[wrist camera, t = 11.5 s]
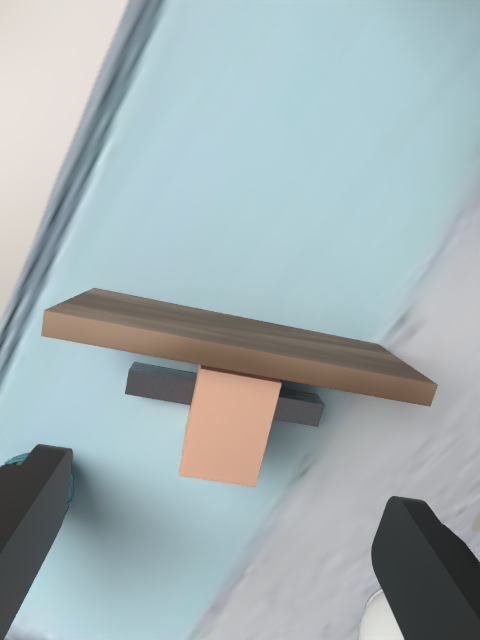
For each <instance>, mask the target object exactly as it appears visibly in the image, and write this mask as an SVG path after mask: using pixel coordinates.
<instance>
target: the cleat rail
mask: <svg viewBox="0 0 480 640" xmlns="http://www.w3.org/2000/svg"><path fill="white" fill-rule="evenodd" d="M196 379H197V373H193V372H187V371H181V370H176V369H170V368H165V367H159V366H154V365H148V364H142V363H137V362H134V363H133V365H132V366H131V368H130V369H129V372H128V379H127V385H126V391H125V394H128V395H134V396H140V397H146V398H152V399H158V400H164V401H170V402H176V403H181V404H187V405H191V403H192V398H193V393H194V388H195V383H196ZM323 406H324V405H323V403H322V401H321V400H320V398H319V397H318V395H316V394H310V393H304V392H299V391H293V390H288V389H282V388H280V392H279V396H278V400H277V404H276V408H275V412H274V416H273V419H276V420H282V421H288V422H294V423H299V424H305V425H311V426H317V427H318V423H319V420H320V416H321V413H322V409H323Z"/></svg>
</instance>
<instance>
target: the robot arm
mask: <svg viewBox="0 0 480 640" xmlns="http://www.w3.org/2000/svg"><path fill="white" fill-rule="evenodd" d="M72 458H73V451H72V449H70V448H63V447H56V446H49V445H42V444H38V445H37V446H35V448H34V449H33V450H32V451H31V452H30V454H29V455H28V456H27V457H26V459H25V460H24V461H23V462H22V464H21V465H14V464H7V463H6V464H5V465H3V466H1V467H0V640H4V638H5V636H6V634H7V632H8V630H9V628H10V626H11V624H12V622H13V620H14V618H15V616H16V614H17V612H18V610H19V609H20V607H21V605H22V603H23V601H24V599H25V597H26V595H27V593H28V591H29V589H30V587H31V585H32V583H33V581H34V579H35V577H36V575H37V573H38V571H39V569H40V568H41V566H42V564H43V562H44V560H45V558H46V556H47V554H48V552H49V550H50V548H51V546H52V544H53V542H54V540H55V538H56V536H57V534H58V532H59V530H60V528H61V525H62V522H63V519H64V516H65V512H66V508H67V502H68V494H69V485H70V476H71V467H72ZM371 556H372V565H373V569H374V572H375V574H376V577H377V579H378V581H379V583H380V586H381V588H382V590H383V592H384V595H385V597H386V599H387V601H388V604H389V606H390V608H391V610H392V613H393V615H394V617H395V619H396V622H397V624H398V626H399V628H400V631H401V633H402V635H403V637H404V640H480V562H479V561H478V559H477V558H476V557H475V556H474V554H473V553H472V552H471V550H470V549H469V548H468V546H467V545H466V544H465V542H463V541H462V540H461V539H460V538H459V537H458V536H457V535H455V534H454V533H453V532H452V531H451V530H450V529H449V528H447V527H446V526H445V525H443V524H442V523H441V522H440V521H439V519H438V518H437V517H436V515H435V514H434V512H433V511H432V510H431V508H430V507H429V506H428V504H427V503H426V502H424V501H423V500H418V499H411V498H404V497H397V496H392V497H391V498H390V499H389V500H388V502H387V504H386V507H385V510H384V513H383V516H382V518H381V521H380V524H379V527H378V530H377V532H376V535H375V538H374V541H373V544H372V551H371Z"/></svg>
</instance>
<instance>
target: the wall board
mask: <svg viewBox="0 0 480 640" xmlns="http://www.w3.org/2000/svg"><path fill="white" fill-rule="evenodd" d="M41 336H45V337H50V338H56V339H61V340H67V341H72V342H78V343H83V344H89V345H94V346H100V347H105V348H111V349H116V350H122V351H127V352H133V353H138V354H144V355H149V356H155V357H160V358H166V359H171V360H177V361H182V362H188V363H193V364H199V365H204V366H210V367H215V368H221V369H226V370H232V371H237V372H243V373H248V374H254V375H259V376H265V377H270V378H276V379H281V380H287V381H292V382H298V383H303V384H309V385H314V386H320V387H325V388H331V389H336V390H342V391H347V392H353V393H359V394H364V395H370V396H375V397H381V398H386V399H392V400H397V401H403V402H408V403H414V404H419V405H425V406H431V403H432V400H433V397H434V394H435V391H436V389H437V386H438V385H437V384H436V383H434V382H433V381H431V380H430V379H428V378H427V377H425V376H424V375H422V374H421V373H420V372H418V371H417V370H415V369H414V368H412V367H411V366H409V365H408V364H406V363H405V362H403V361H402V360H400V359H399V358H397V357H396V356H394V355H393V354H392V353H390V352H389V351H387V350H386V349H384V348H383V347H381V346H380V345H378V344H374V343H369V342H364V341H359V340H354V339H349V338H344V337H339V336H334V335H329V334H324V333H319V332H314V331H309V330H303V329H298V328H293V327H288V326H283V325H278V324H273V323H268V322H263V321H258V320H253V319H248V318H243V317H238V316H233V315H228V314H223V313H218V312H213V311H207V310H202V309H197V308H192V307H187V306H182V305H177V304H172V303H167V302H162V301H157V300H152V299H147V298H142V297H137V296H132V295H127V294H122V293H117V292H112V291H106V290H101V289H96V288H93V289H91V290H89V291H86V292H84V293H82V294H80V295H77V296H75V297H73V298H71V299H69V300H66V301H64V302H62V303H60V304H57V305H55V306H53V307H51V308H49V309H46V310H44V316H43V325H42V334H41Z"/></svg>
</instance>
